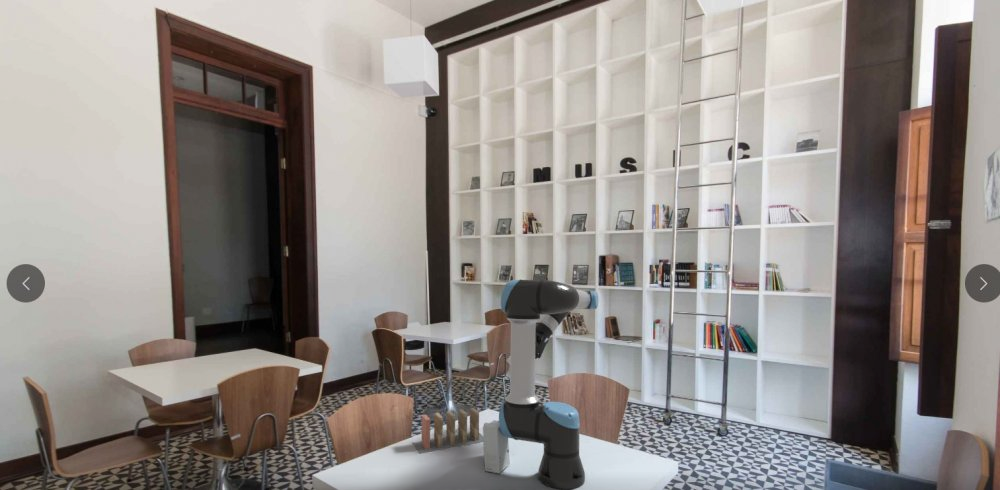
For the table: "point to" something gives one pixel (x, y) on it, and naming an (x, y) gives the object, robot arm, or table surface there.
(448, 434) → the domino
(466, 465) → the table surface
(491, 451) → the skincare box
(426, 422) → the domino
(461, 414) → the domino
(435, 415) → the domino
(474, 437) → the domino
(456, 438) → the mat
